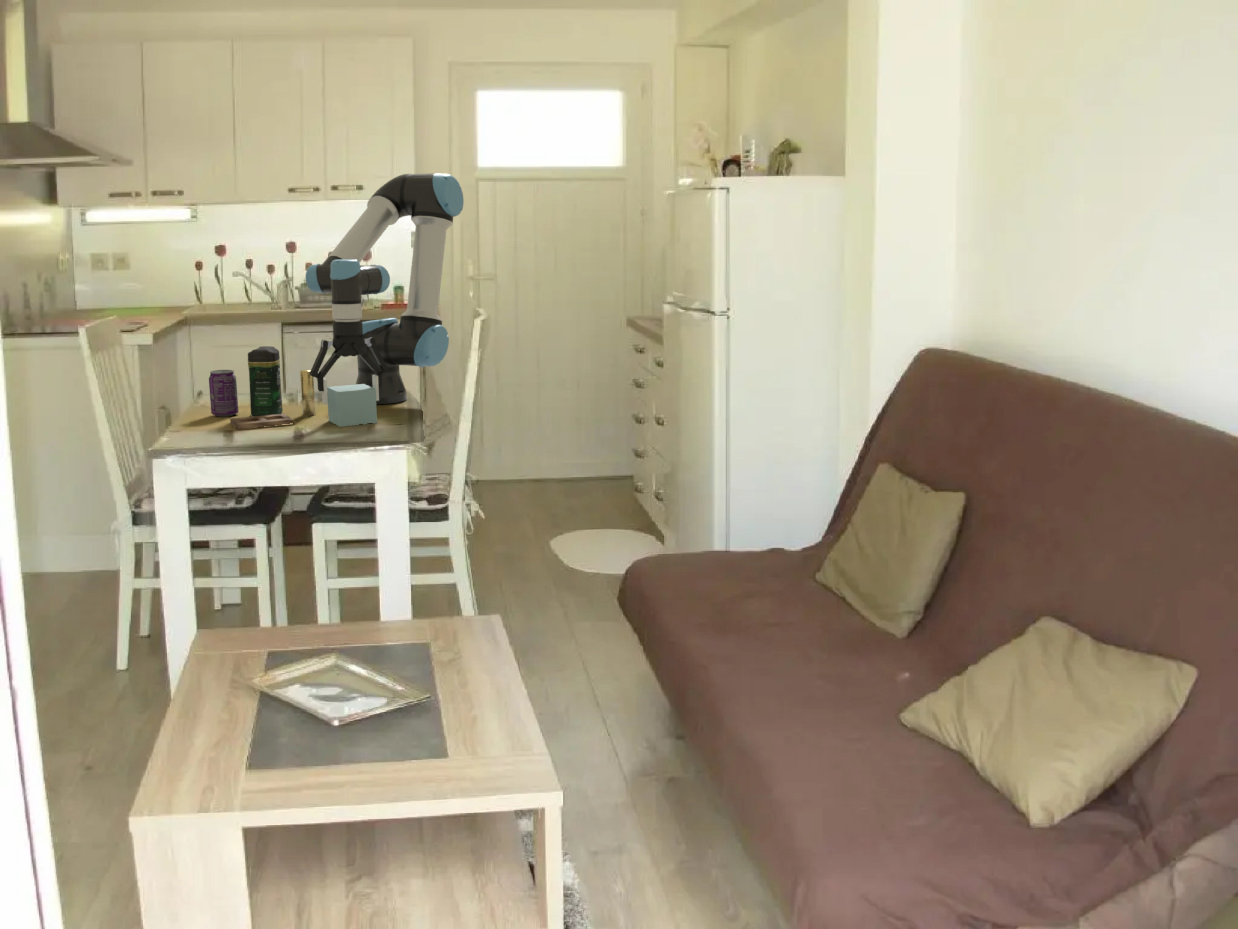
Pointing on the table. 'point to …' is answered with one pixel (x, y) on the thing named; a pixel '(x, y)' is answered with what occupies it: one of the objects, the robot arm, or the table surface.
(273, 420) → the brown grid frame
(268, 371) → the coffee jar
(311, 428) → the table surface
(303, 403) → the brass peg
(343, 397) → the block
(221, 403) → the beverage can
